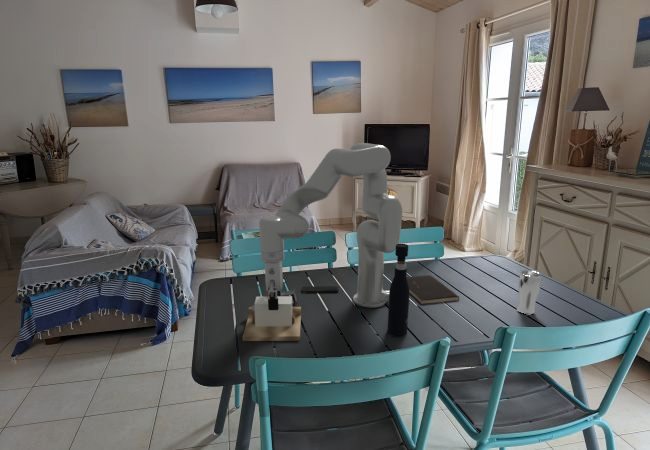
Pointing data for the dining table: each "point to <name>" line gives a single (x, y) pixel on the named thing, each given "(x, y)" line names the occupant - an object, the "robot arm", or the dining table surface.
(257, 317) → the light grey block
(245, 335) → the cleat board
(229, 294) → the dining table surface
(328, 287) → the remote control
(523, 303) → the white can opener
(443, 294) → the hardcover book
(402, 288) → the black bottle
